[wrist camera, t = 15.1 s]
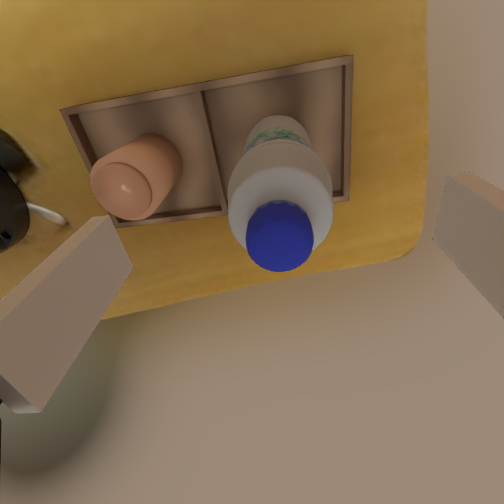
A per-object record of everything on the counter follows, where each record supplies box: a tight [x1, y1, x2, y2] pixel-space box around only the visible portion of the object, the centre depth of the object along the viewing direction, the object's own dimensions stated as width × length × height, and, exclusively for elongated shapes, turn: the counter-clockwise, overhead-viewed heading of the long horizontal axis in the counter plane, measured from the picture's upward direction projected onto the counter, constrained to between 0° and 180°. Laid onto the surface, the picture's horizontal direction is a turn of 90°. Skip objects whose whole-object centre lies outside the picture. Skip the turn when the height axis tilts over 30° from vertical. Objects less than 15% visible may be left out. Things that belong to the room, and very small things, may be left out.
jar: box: [90, 134, 183, 220], centre depth 28 cm, size 6×6×9 cm
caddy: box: [59, 55, 353, 228], centre depth 31 cm, size 28×13×2 cm, turn 99°
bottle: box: [228, 115, 334, 272], centre depth 22 cm, size 7×7×20 cm
